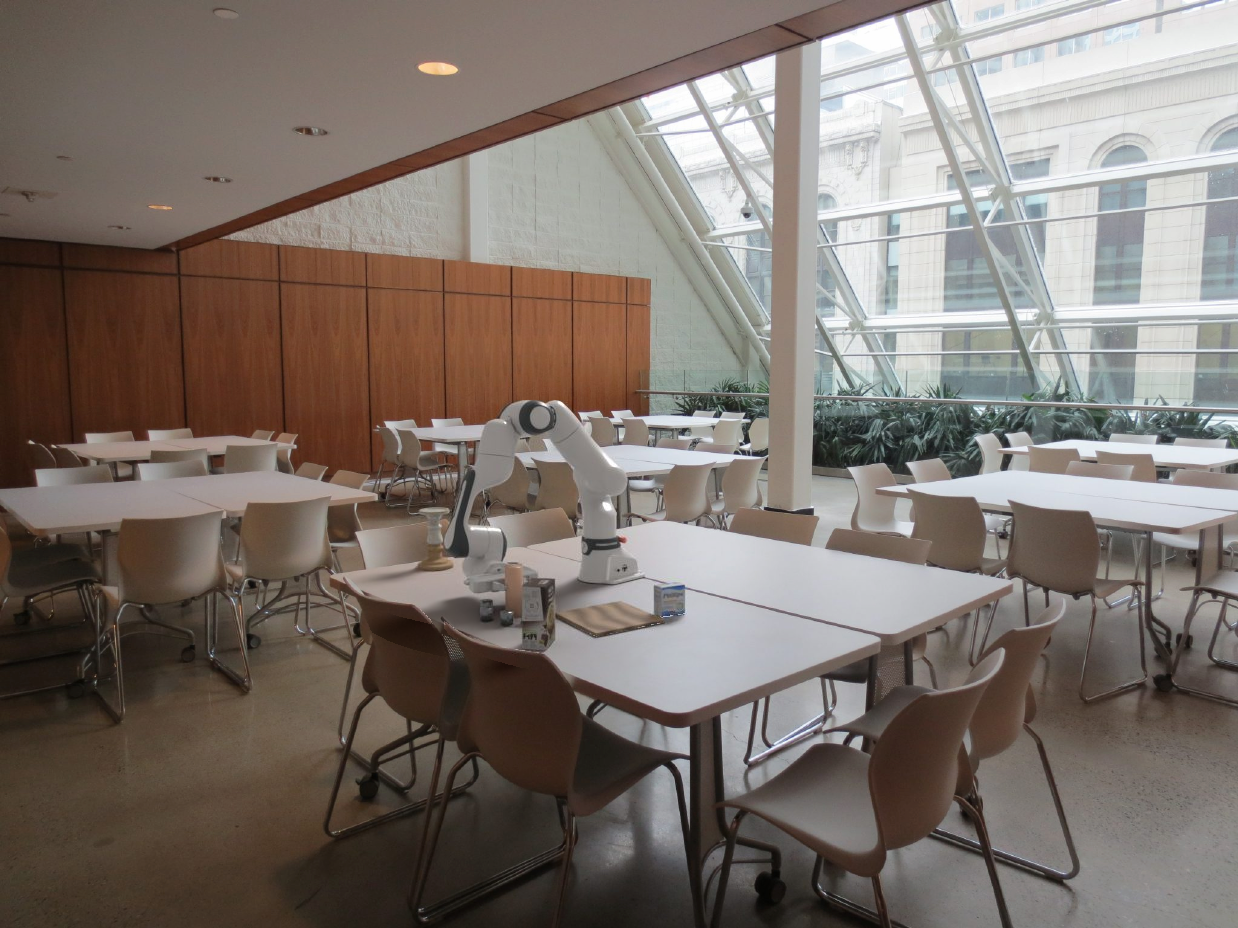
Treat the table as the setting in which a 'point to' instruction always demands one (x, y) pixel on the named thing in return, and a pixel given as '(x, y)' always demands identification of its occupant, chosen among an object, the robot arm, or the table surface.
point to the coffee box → (538, 613)
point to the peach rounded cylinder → (514, 589)
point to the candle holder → (434, 541)
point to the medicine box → (669, 599)
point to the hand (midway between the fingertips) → (515, 586)
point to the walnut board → (608, 618)
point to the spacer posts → (487, 613)
